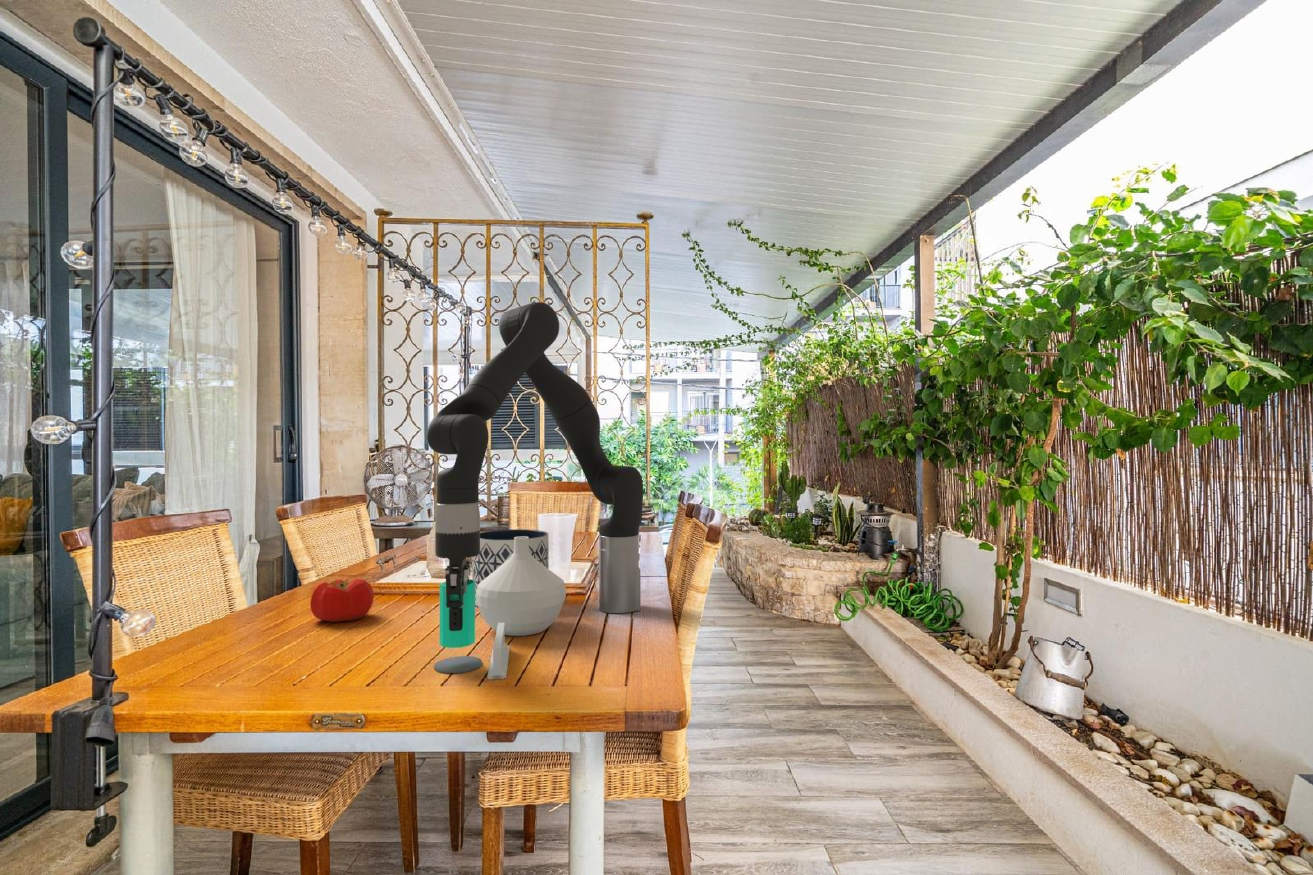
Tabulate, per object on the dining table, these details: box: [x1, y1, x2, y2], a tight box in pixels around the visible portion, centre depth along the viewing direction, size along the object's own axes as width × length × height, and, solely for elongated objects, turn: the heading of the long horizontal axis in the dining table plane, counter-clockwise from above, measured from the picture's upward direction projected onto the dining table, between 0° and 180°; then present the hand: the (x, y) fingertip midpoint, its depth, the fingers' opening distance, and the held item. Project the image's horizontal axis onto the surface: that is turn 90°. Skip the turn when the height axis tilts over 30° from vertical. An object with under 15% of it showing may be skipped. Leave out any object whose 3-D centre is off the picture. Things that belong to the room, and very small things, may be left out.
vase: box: [476, 536, 567, 637], centre depth 141 cm, size 18×18×19 cm
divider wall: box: [487, 623, 510, 680], centre depth 120 cm, size 3×16×5 cm, turn 10°
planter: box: [471, 529, 550, 607], centre depth 165 cm, size 18×18×16 cm
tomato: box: [309, 578, 375, 623], centre depth 150 cm, size 13×12×8 cm
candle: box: [439, 578, 476, 649], centre depth 118 cm, size 6×6×12 cm
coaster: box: [433, 655, 483, 675], centre depth 118 cm, size 8×8×1 cm
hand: (457, 625), depth 118 cm, fingers closed on candle, 5 cm apart
